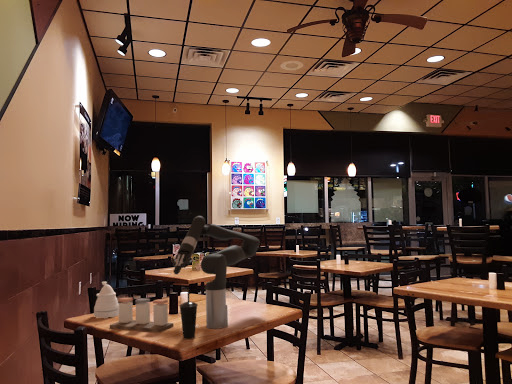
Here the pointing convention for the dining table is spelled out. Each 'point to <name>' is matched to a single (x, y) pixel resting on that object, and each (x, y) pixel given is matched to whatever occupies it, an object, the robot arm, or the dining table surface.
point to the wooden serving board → (141, 326)
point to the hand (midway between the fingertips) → (175, 273)
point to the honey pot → (106, 303)
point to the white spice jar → (125, 310)
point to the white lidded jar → (142, 311)
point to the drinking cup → (188, 318)
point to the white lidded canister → (160, 312)
